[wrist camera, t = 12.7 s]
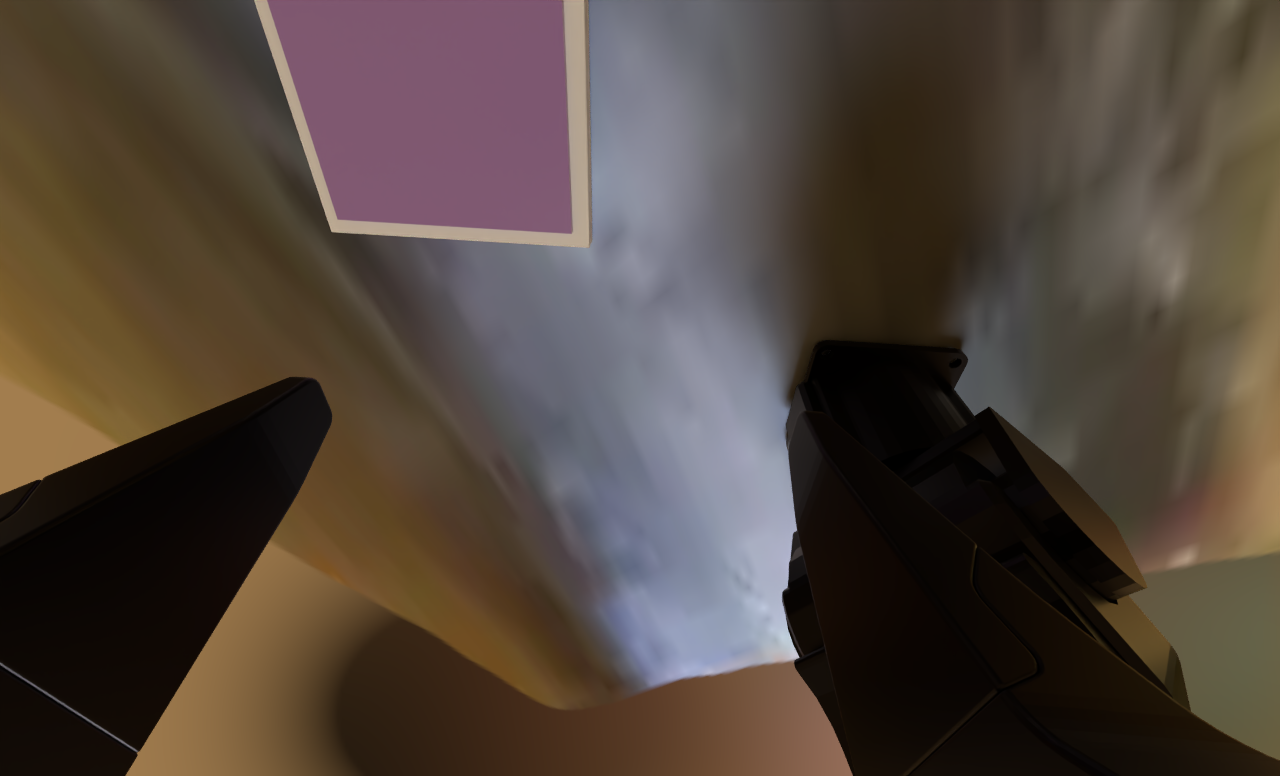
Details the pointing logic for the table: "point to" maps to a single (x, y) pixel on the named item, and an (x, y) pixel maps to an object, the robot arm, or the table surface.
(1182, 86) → the table surface
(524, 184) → the ink pad
